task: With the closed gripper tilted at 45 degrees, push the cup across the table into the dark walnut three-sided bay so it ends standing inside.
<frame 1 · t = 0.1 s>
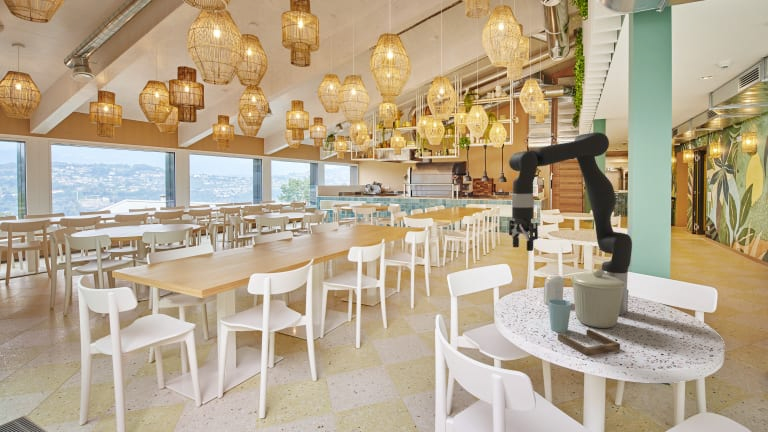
hand: (522, 248, 138), 29 cm above the table, tool pointing down, fingers open, 8 cm apart
canister: (595, 323, 141), on the table
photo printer: (553, 302, 166), on the table
walnut bay: (586, 343, 123), on the table
cup: (558, 330, 135), on the table
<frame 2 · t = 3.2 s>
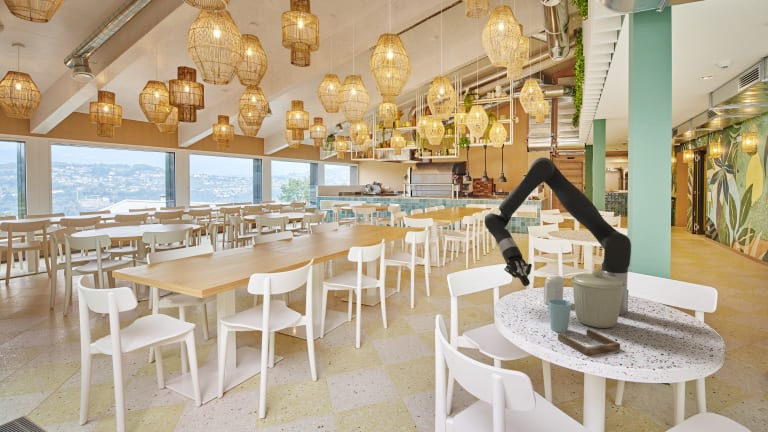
hand: (527, 285, 152), 12 cm above the table, tool tilted 45°, fingers closed
nothing on the table moved.
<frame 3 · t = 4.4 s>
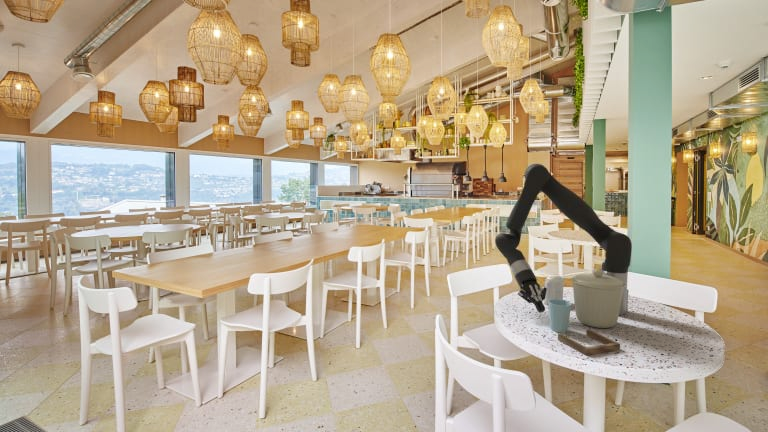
hand: (542, 311, 143), 4 cm above the table, tool tilted 45°, fingers closed
nothing on the table moved.
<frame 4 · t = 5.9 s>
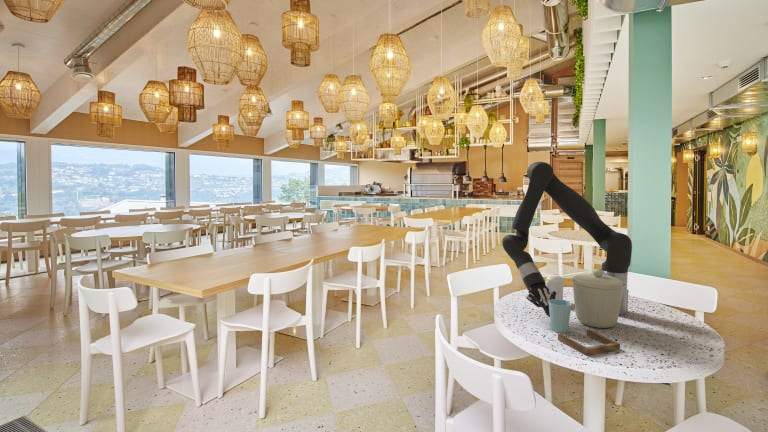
hand: (551, 316, 138), 4 cm above the table, tool tilted 45°, fingers closed
cup: (559, 330, 135), on the table, touching gripper
everything else where it was.
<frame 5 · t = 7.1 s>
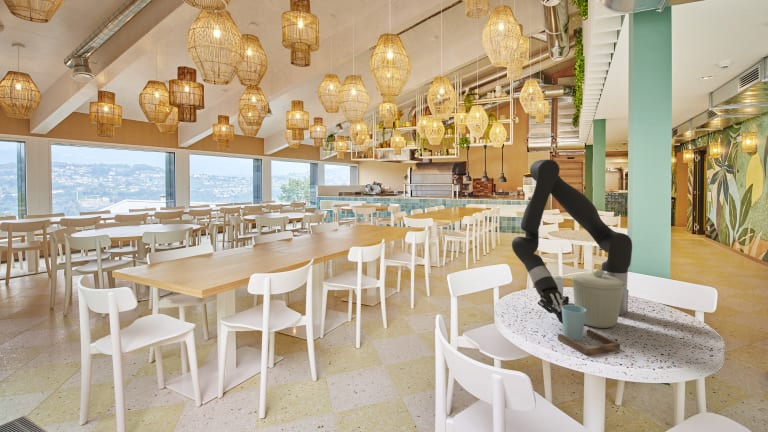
hand: (565, 322, 132), 4 cm above the table, tool tilted 45°, fingers closed
cup: (572, 337, 128), on the table, touching gripper
everything else where it was.
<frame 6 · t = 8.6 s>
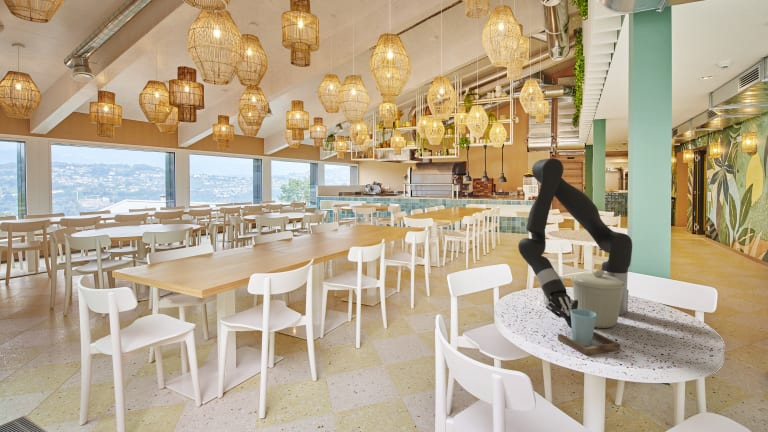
hand: (574, 327, 128), 4 cm above the table, tool tilted 45°, fingers closed
cup: (582, 343, 124), on the table, touching gripper
everything else where it was.
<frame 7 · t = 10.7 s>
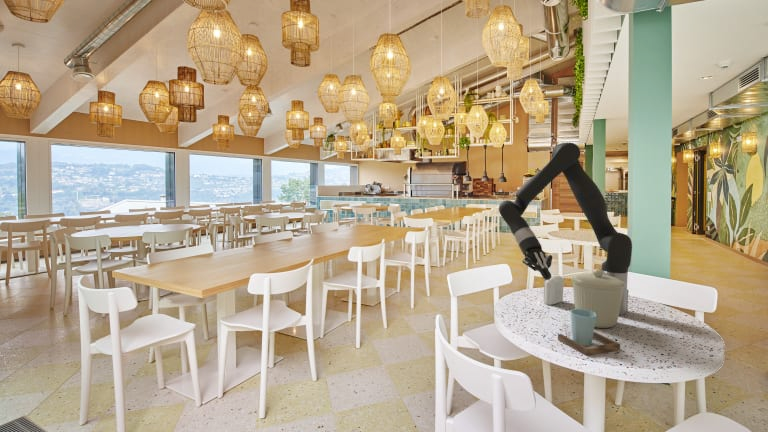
hand: (548, 278, 137), 18 cm above the table, tool tilted 45°, fingers closed
cup: (582, 343, 124), on the table
everything else where it was.
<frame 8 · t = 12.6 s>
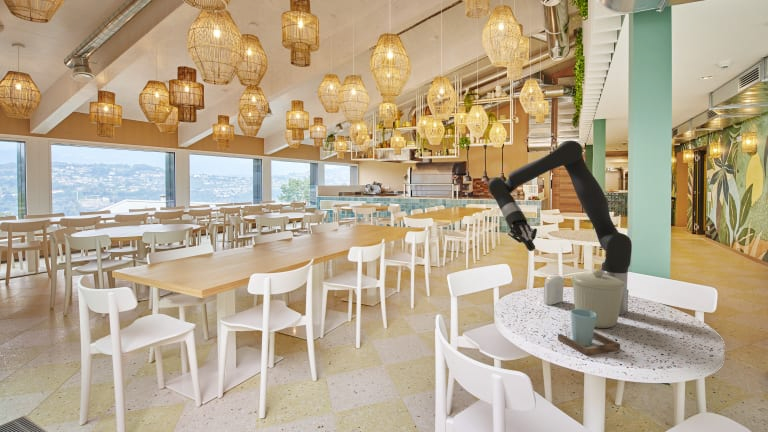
hand: (532, 249, 143), 28 cm above the table, tool tilted 45°, fingers closed
nothing on the table moved.
at the end: cup inside the target area on the walnut bay (2.5 cm from its centre), point 0.0 cm above the walnut bay's base; cup tilted 0° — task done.
